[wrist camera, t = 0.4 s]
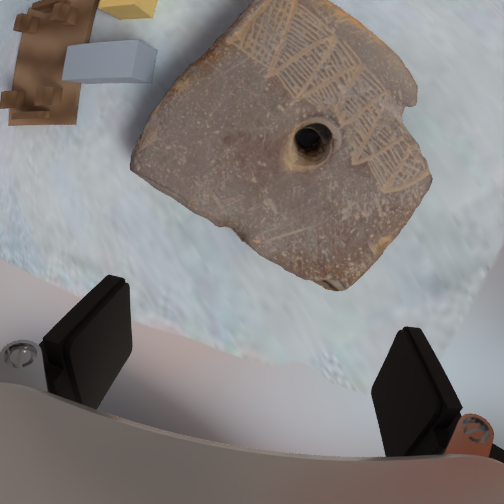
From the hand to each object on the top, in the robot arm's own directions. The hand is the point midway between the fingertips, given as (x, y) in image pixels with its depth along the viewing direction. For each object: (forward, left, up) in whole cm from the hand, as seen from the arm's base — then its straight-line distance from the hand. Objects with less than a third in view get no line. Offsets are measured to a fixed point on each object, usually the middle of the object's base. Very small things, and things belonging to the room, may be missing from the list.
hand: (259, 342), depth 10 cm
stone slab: (-7, +2, -30) cm, 31 cm away
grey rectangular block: (-13, -22, -30) cm, 40 cm away
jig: (-15, -35, -30) cm, 49 cm away
